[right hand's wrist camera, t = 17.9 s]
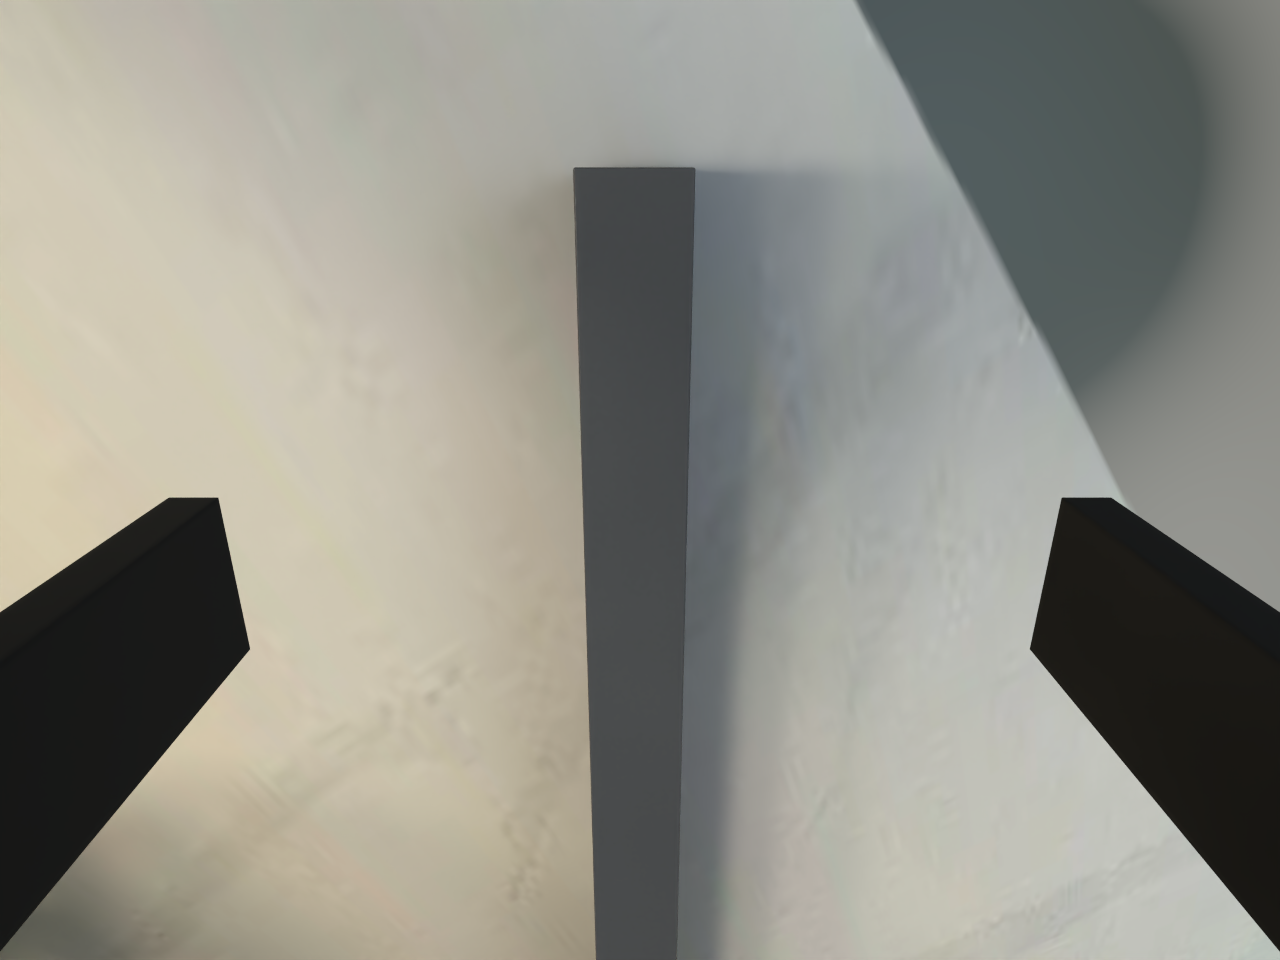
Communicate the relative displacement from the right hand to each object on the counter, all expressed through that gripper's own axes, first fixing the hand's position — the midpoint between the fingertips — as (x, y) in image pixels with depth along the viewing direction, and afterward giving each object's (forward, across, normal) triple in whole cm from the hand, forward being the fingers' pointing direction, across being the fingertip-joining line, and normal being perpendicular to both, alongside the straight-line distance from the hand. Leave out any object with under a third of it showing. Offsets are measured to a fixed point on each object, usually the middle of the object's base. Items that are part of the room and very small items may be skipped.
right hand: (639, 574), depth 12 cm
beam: (+32, 0, -35) cm, 48 cm away
